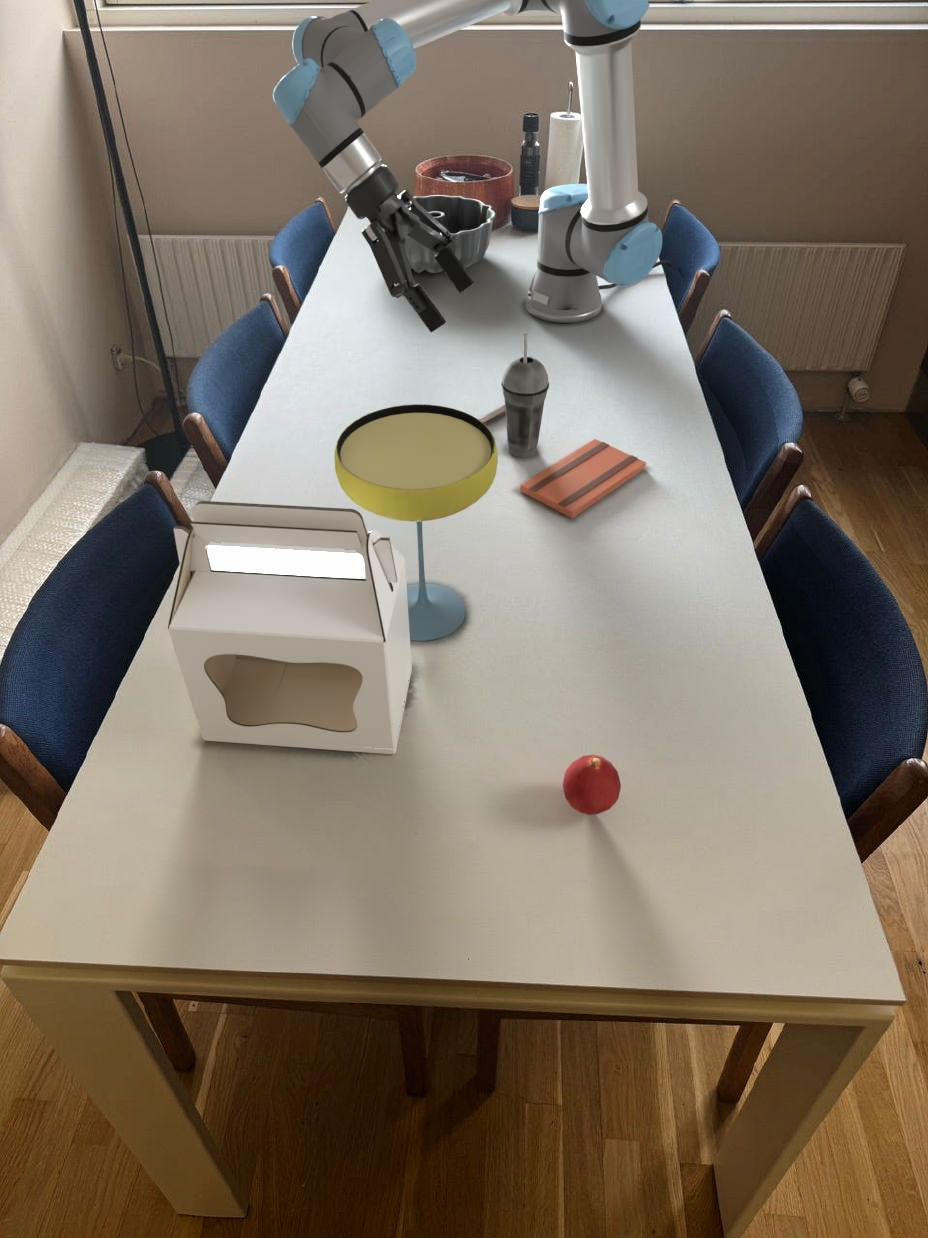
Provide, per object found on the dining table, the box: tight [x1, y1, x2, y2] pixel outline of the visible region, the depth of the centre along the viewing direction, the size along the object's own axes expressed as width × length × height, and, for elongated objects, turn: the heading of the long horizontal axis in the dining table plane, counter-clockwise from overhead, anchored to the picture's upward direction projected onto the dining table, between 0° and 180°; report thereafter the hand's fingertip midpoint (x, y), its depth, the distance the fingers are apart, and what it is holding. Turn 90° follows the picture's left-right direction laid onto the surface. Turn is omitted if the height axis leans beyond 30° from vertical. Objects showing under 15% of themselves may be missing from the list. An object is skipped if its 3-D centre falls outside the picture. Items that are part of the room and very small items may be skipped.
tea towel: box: [520, 438, 647, 519], centre depth 137 cm, size 18×10×1 cm, turn 136°
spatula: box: [477, 404, 506, 426], centre depth 149 cm, size 21×6×1 cm, turn 136°
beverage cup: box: [501, 333, 550, 458], centre depth 137 cm, size 7×7×20 cm
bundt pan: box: [404, 194, 496, 274], centre depth 199 cm, size 26×26×10 cm
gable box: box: [167, 500, 413, 755], centre depth 95 cm, size 22×13×28 cm, turn 85°
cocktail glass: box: [334, 403, 499, 642], centre depth 107 cm, size 18×18×25 cm
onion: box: [562, 754, 622, 816], centre depth 91 cm, size 6×6×8 cm
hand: (453, 307), depth 134 cm, fingers open, 13 cm apart
